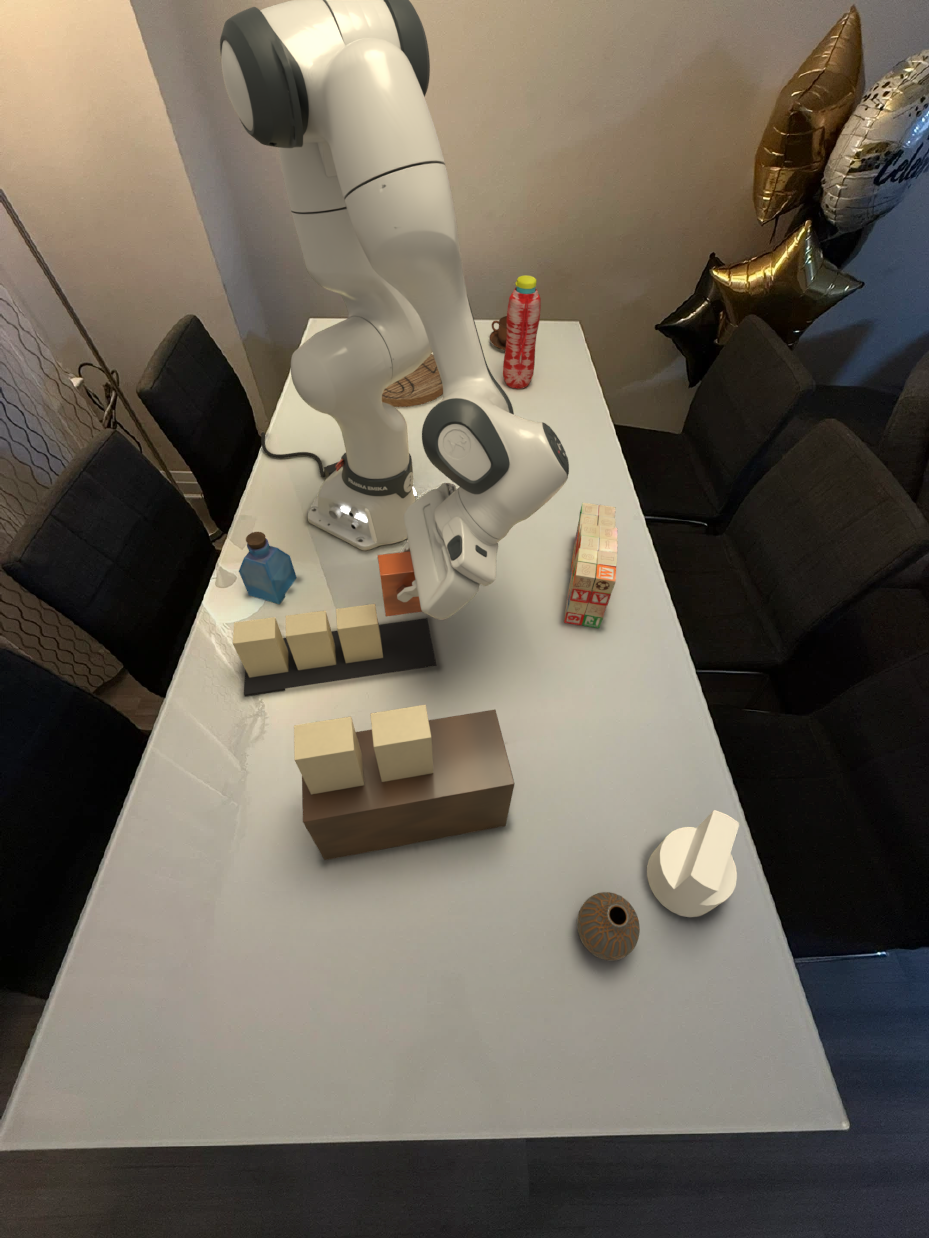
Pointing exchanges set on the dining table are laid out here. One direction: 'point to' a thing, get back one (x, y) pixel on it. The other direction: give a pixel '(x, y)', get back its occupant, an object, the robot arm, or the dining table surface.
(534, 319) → the water bottle
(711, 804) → the dining table surface
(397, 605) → the orange wooden block
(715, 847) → the cylinder with rectangular tab
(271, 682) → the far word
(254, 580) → the perfume bottle
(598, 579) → the stack of blocks
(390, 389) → the trivet
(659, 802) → the dining table surface
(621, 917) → the vase
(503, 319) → the cappuccino
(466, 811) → the brown wooden block
